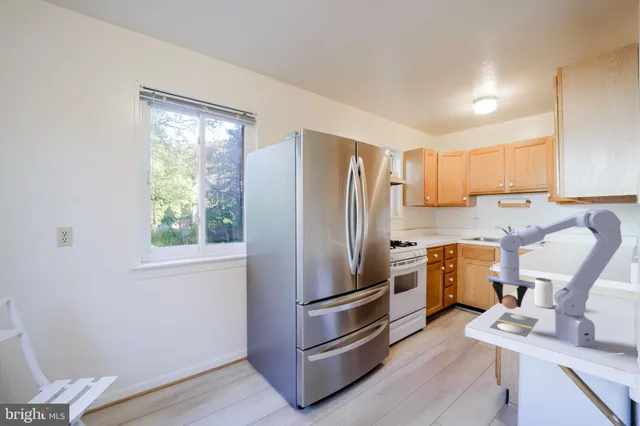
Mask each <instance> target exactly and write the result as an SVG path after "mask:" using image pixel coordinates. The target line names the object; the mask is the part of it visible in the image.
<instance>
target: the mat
mask: <svg viewBox="0 0 640 426" xmlns="http://www.w3.org/2000/svg"><path fill="white" fill-rule="evenodd" d="M538 321H539V318H536V317H535V318H534V317H529V316H525V315H522V314H516V313H512V312H507V311H505V312H504V313H503V314H502V315H501V316H500V317H499V318H498V319H496V321H494V322H493V323H492V324H491V325H490V326H489V329H493V330H497V331H501V332H505V333H509V334H513V335H517V336H520V337H524V338H527V336H528V335H529V333H530V332H531V330H532V329H533V328H534V326H535V325H536V323H537V322H538ZM500 323H507V324H513V325H516V326H519V327H521V328H523V329H524V332H522V333H512V332H507V331H504V330H501V329H499V328H498V327H497V325H498V324H500Z"/></svg>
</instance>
